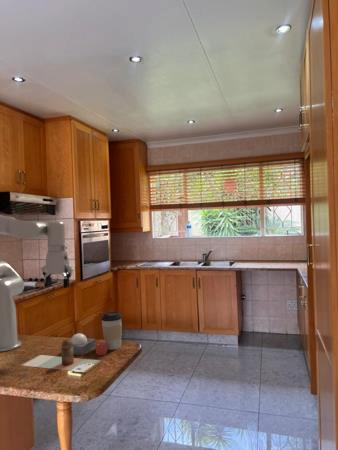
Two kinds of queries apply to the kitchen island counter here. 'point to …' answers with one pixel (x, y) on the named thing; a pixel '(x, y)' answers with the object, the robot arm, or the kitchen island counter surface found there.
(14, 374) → the kitchen island counter surface
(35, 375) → the kitchen island counter surface
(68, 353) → the walnut pawn
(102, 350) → the red die
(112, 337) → the coffee cup
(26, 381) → the kitchen island counter surface
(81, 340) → the dome
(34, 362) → the game board
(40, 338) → the kitchen island counter surface
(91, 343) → the base
